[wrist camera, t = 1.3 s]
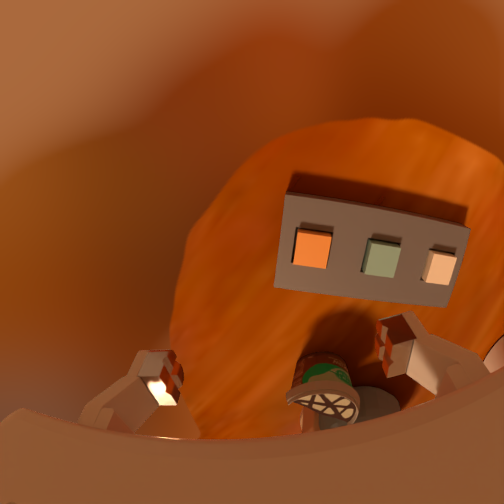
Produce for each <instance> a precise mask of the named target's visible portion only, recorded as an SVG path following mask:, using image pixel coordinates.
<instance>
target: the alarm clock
mask: <svg viewBox="0 0 504 504" xmlns="http://www.w3.org/2000/svg"><path fill="white" fill-rule="evenodd" d="M353 389H354V390H356V392H357V393H358V395H359V397H360V407H359V413H358V416H357V418H356V420H355V421H354V423H353V424H355V423H359V422H363V421H367V420H371V419H375V418H379V417H382V416H386V415H389V414H393V413H396V412H399V411H401V409H400V406H399V402H398V401H397V399H396V398H395V397H394V396H393V395H391V394H389V393H388V392H386V391H384V390H382V389H380V388H376V387H371V386H358V387H353ZM300 424H301V429H302V433H308V432H314V431H320V430H326V429H331V428H336V427H341V426H346V425H347V422H345V421H342V420H339V419H336V418H333V417H329V416H324V415H321V414H318V413H316V412H314V411H313V410H311V409H309V408H307V407H305V406H304V407H303V409H302V412H301V415H300Z"/></svg>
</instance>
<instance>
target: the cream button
mask: <svg viewBox="0 0 504 504" xmlns="http://www.w3.org/2000/svg"><path fill="white" fill-rule="evenodd" d="M456 259H457V257H455V256H454V255H453V254H452V253H448V252H443V251H437V250H432V249H429V251H428V255H427V258H426V262H425V265H424V269H423V272H422V275H421V277H422V279H423V280H424V281H425V282H427V283H435V284H442V285H449V282H450V279H451V276H452V273H453V269H454V266H455V263H456Z"/></svg>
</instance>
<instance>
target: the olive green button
mask: <svg viewBox="0 0 504 504" xmlns="http://www.w3.org/2000/svg"><path fill="white" fill-rule="evenodd" d="M400 251H401V247H400V246H399V245H398V244H397V243H392V242H386V241H380V240H373V239H368V243H367V247H366V252H365V256H364V261H363V265H362V270H363V272H364V274H367V275H374V276H382V277H389V278H393V277H394V274H395V270H396V267H397V263H398V259H399V255H400Z"/></svg>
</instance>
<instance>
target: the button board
mask: <svg viewBox="0 0 504 504" xmlns="http://www.w3.org/2000/svg"><path fill="white" fill-rule="evenodd" d="M298 228H300V229H307V230H314V231H321V232H328V233H330V234H331V237H332V238H331V244H330V249H329V255H328V260H327V265H326V269H323V268H316V267H309V266H302V265H295V264H293V260H294V253H295V246H296V239H297V232H298ZM470 230H471V229H470V228H468V227H466V226H464V225H462V224H460V223H456V222H452V221H448V220H444V219H440V218H435V217H431V216H426V215H422V214H417V213H413V212H408V211H403V210H398V209H393V208H388V207H382V206H377V205H372V204H366V203H360V202H355V201H349V200H343V199H336V198H330V197H323V196H317V195H310V194H303V193H295V192H287V191H286V194H285V201H284V210H283V218H282V227H281V235H280V243H279V251H278V259H277V266H276V274H275V282H274V287H277V288H284V289H291V290H298V291H305V292H312V293H320V294H328V295H335V296H343V297H351V298H360V299H368V300H377V301H386V302H395V303H404V304H414V305H424V306H435V307H447V304H448V301H449V299H450V296H451V293H452V291H453V288H454V285H455V282H456V279H457V276H458V273H459V270H460V266H461V263H462V260H463V256H464V253H465V249H466V246H467V242H468V238H469V234H470ZM368 239H373V240H380V241H386V242H392V243H397V244H398V245H399V246H400V247H401V251H400V255H399V259H398V263H397V267H396V270H395V274H394V277H393V278H389V277H382V276H374V275H367V274H364V272H363V270H362V265H363V261H364V256H365V252H366V247H367V243H368ZM429 249H432V250H437V251H443V252H448V253H452V254H453V255H454V256H455V257H457V259H456V263H455V266H454V269H453V273H452V276H451V279H450V282H449V285H442V284H435V283H427V282H425V281H424V280H423V279H422V277H421V275H422V272H423V269H424V265H425V262H426V258H427V255H428V251H429Z"/></svg>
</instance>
